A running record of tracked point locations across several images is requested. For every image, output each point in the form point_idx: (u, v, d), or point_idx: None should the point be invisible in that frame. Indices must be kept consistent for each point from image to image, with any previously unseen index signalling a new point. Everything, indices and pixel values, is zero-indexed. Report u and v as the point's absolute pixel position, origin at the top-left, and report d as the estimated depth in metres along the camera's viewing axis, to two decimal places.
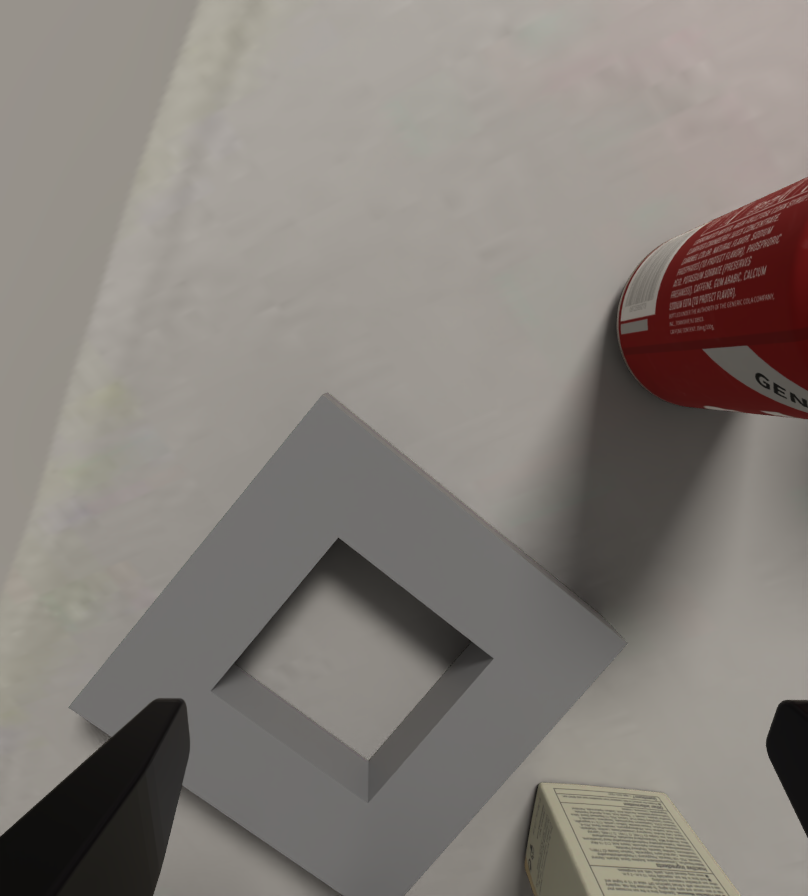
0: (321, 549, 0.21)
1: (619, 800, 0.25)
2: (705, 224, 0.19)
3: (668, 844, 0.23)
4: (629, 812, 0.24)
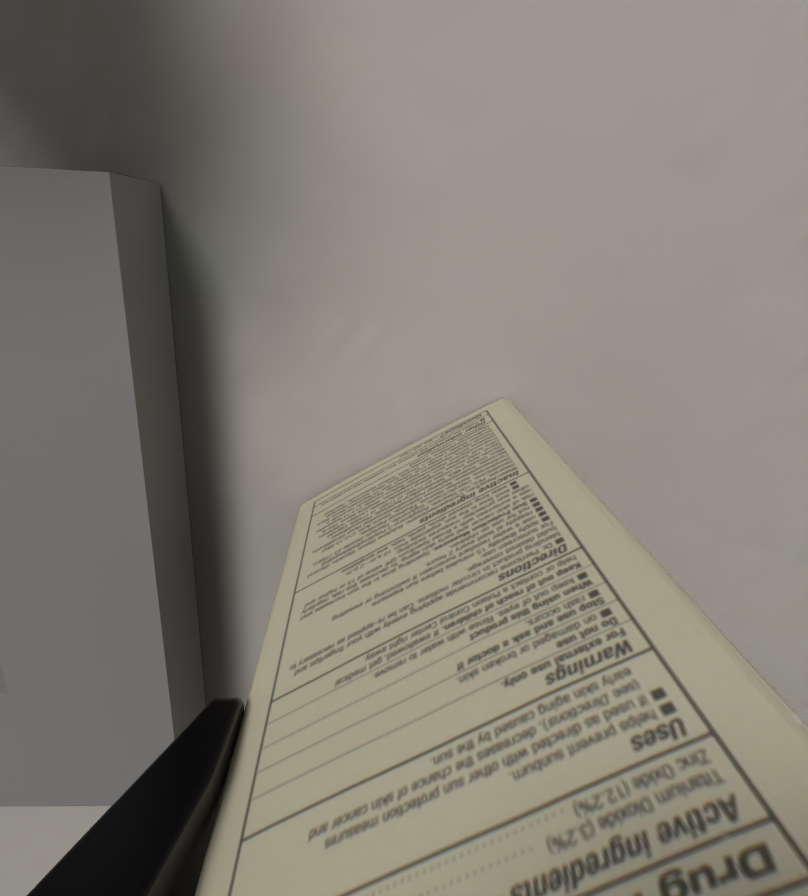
0: None
1: (413, 455, 0.14)
2: None
3: (463, 471, 0.11)
4: (419, 463, 0.13)
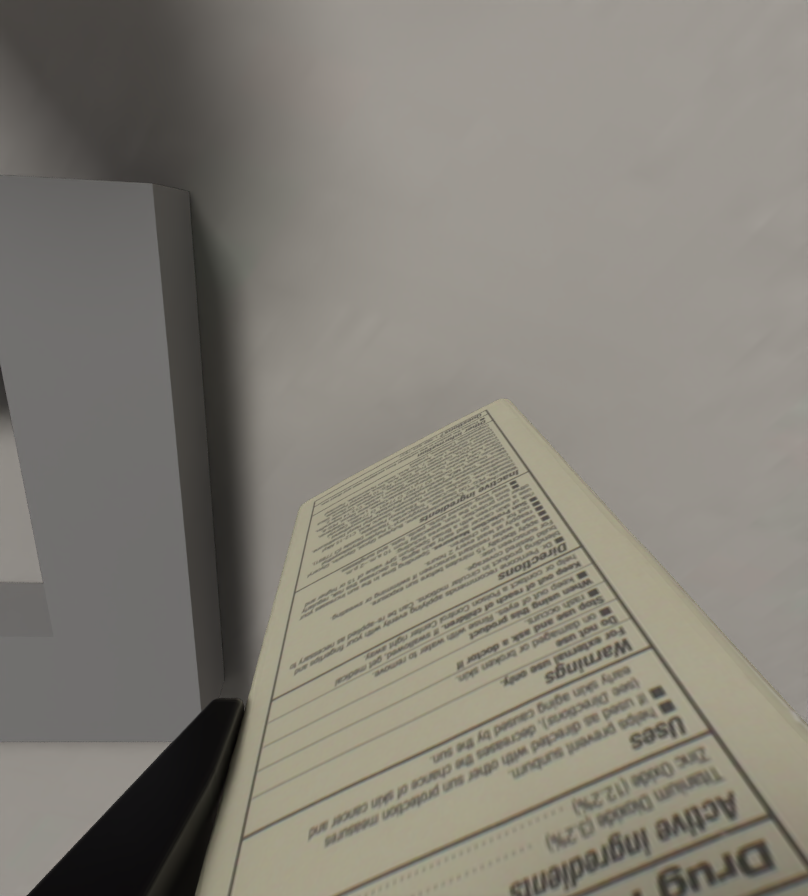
0: None
1: (413, 455, 0.14)
2: None
3: (463, 471, 0.11)
4: (420, 463, 0.13)
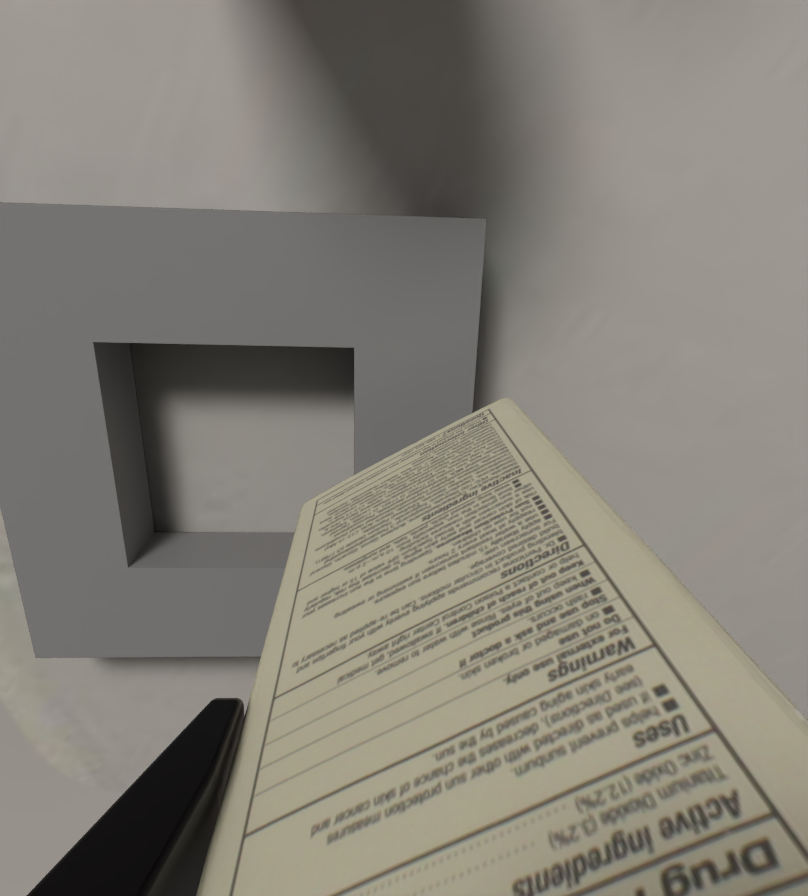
0: (90, 366, 0.17)
1: (415, 453, 0.14)
2: None
3: (465, 470, 0.11)
4: (422, 461, 0.13)
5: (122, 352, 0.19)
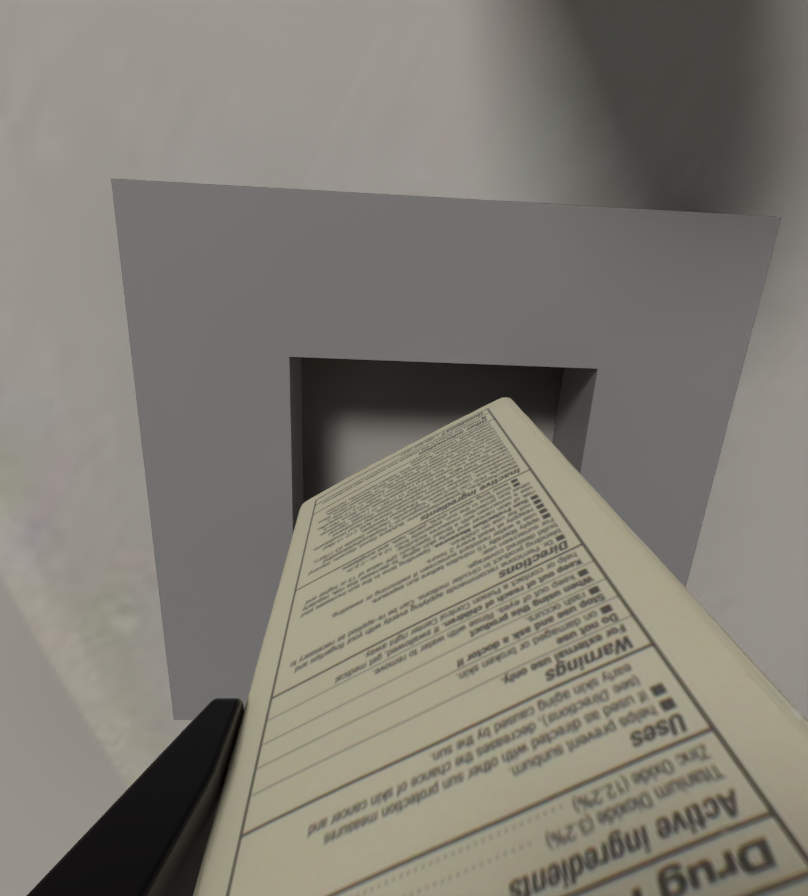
0: (282, 386, 0.14)
1: (414, 453, 0.14)
2: None
3: (464, 470, 0.11)
4: (421, 461, 0.13)
5: (299, 366, 0.16)
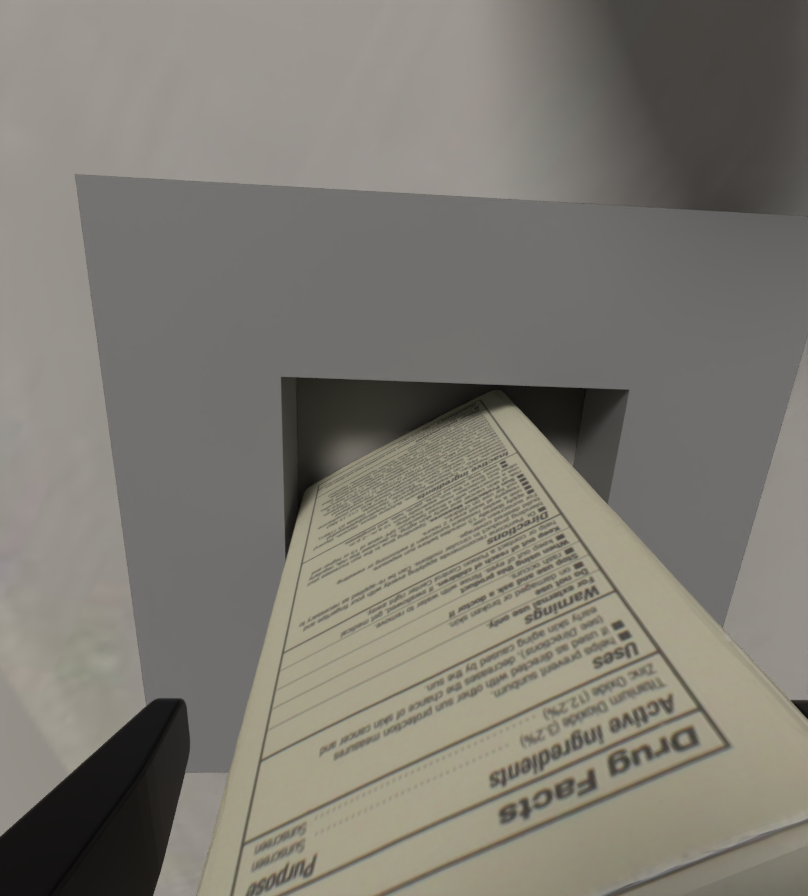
0: (272, 409, 0.13)
1: (411, 441, 0.15)
2: None
3: (457, 454, 0.12)
4: (417, 448, 0.14)
5: (293, 385, 0.14)
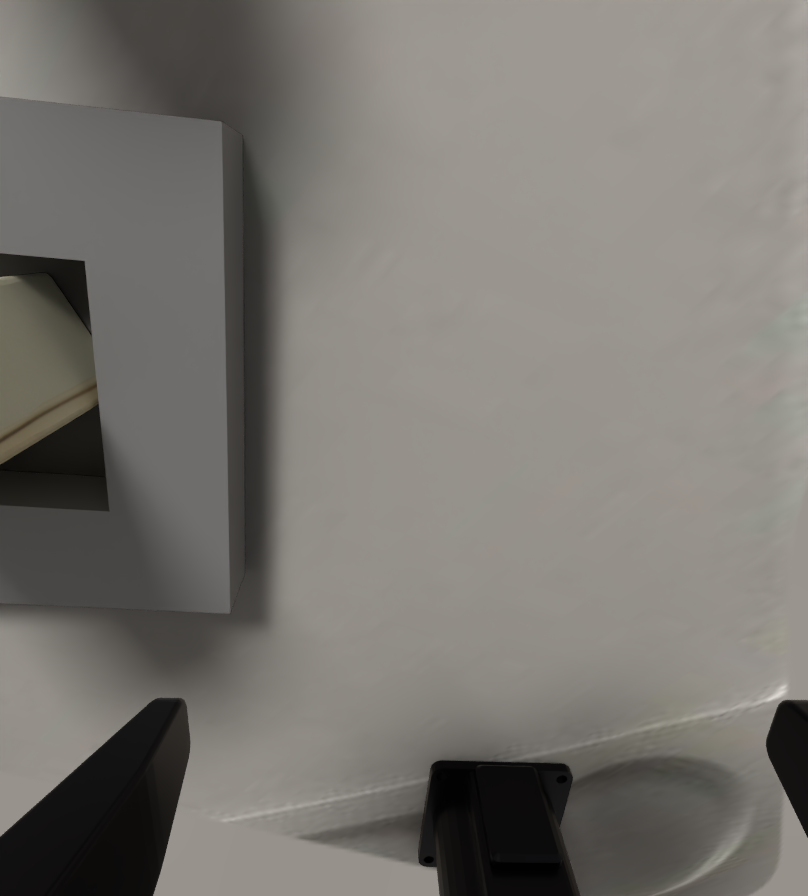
0: None
1: None
2: None
3: None
4: None
5: None
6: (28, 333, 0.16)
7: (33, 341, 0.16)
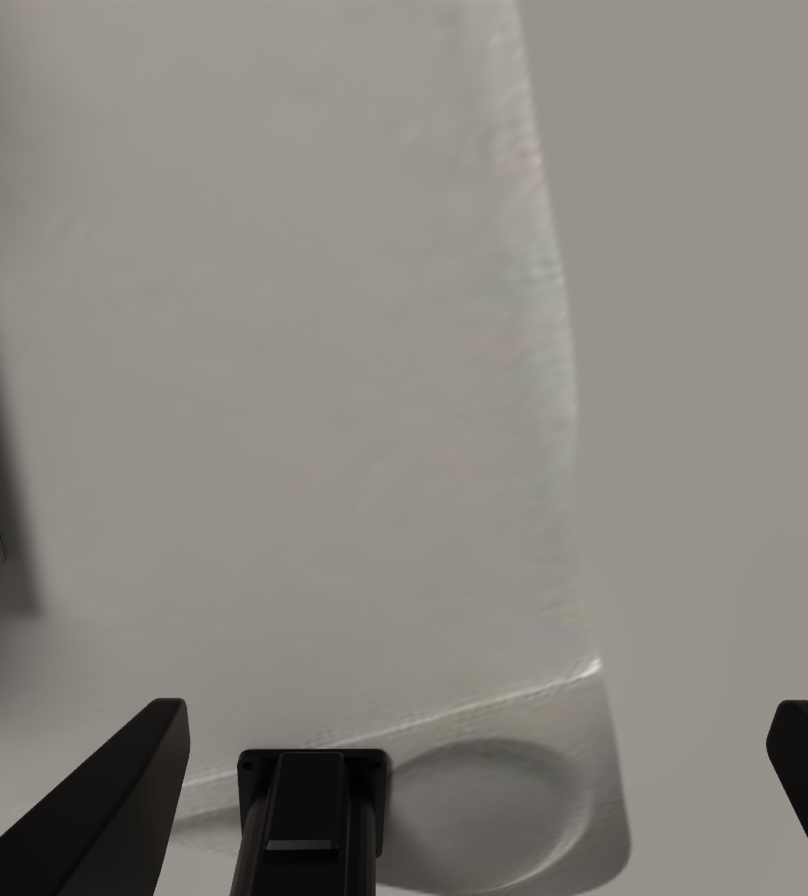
0: None
1: None
2: None
3: None
4: None
5: None
6: None
7: None
